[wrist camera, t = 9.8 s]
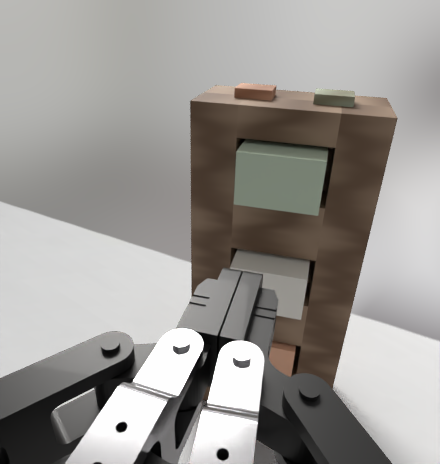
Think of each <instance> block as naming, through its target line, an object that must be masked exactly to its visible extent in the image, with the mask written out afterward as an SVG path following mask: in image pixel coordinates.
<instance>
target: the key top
mask: <svg viewBox="0 0 440 464" xmlns="http://www.w3.org/2000/svg"><path fill="white" fill-rule="evenodd" d="M327 157H328V147H323V146H313V145H303V144H293V143H284V142H274V141H264V140H254V139H245V141H244V142H243V143H242V145H241V146H240V147H239V149H238V150H237V152H236V168H235V188H234V205H242V206H249V207H256V208H264V209H271V210H278V211H286V212H293V213H300V214H308V215H315V216H318V214H319V208H320V202H321V196H322V189H323V183H324V177H325V171H326V165H327Z"/></svg>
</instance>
